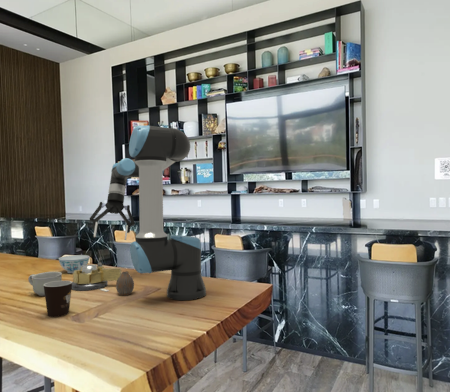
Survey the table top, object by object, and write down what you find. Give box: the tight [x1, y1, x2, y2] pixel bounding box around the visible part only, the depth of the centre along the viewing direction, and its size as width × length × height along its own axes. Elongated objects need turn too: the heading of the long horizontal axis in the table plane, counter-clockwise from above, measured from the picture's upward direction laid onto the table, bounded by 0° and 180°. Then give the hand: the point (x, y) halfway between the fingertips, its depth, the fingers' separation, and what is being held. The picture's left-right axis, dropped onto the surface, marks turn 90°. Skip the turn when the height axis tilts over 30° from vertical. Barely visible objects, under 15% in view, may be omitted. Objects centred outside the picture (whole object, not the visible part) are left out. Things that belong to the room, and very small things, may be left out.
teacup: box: [28, 271, 63, 297], centre depth 144 cm, size 14×11×8 cm
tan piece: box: [72, 265, 122, 284], centre depth 155 cm, size 20×12×5 cm, turn 91°
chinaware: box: [58, 254, 90, 274], centre depth 187 cm, size 15×15×8 cm
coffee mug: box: [44, 280, 73, 318], centre depth 119 cm, size 12×9×10 cm
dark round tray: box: [71, 264, 109, 292], centre depth 155 cm, size 15×15×9 cm
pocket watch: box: [96, 257, 104, 269], centre depth 171 cm, size 8×8×10 cm
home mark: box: [98, 288, 110, 292], centre depth 147 cm, size 5×1×1 cm, turn 51°
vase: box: [115, 270, 135, 296], centre depth 141 cm, size 7×7×9 cm
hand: (110, 238), depth 163 cm, fingers open, 13 cm apart
